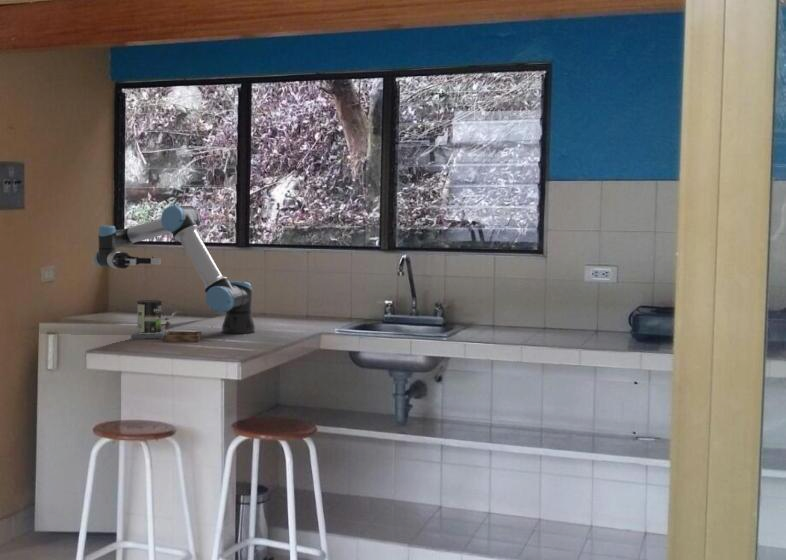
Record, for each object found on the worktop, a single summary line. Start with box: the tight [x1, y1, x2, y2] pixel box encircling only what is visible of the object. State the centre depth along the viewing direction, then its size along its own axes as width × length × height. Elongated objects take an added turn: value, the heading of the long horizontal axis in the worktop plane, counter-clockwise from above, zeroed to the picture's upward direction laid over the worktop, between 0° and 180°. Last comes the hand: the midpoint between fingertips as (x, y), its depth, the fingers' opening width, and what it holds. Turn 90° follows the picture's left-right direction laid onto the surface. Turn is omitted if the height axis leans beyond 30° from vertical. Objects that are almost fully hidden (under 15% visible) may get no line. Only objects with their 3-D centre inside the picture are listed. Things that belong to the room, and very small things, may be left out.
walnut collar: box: [163, 331, 203, 343], centre depth 392 cm, size 14×14×2 cm
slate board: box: [130, 330, 167, 340], centre depth 399 cm, size 13×13×2 cm
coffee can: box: [136, 299, 162, 335], centre depth 398 cm, size 10×10×14 cm
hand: (147, 262), depth 407 cm, fingers open, 13 cm apart
